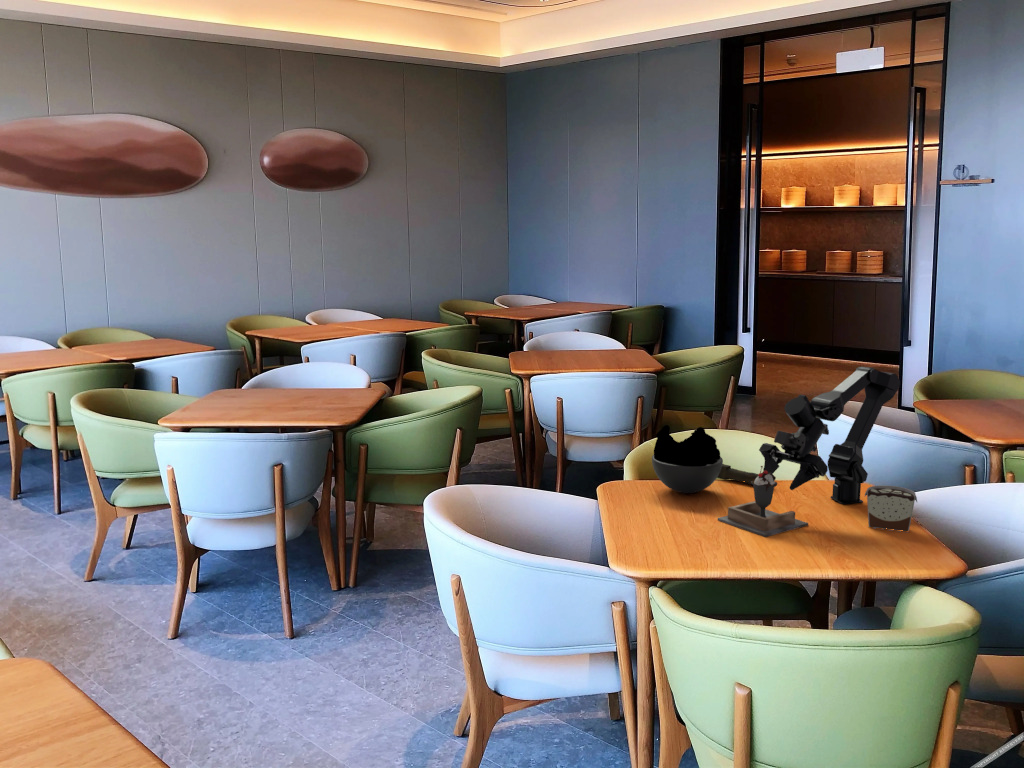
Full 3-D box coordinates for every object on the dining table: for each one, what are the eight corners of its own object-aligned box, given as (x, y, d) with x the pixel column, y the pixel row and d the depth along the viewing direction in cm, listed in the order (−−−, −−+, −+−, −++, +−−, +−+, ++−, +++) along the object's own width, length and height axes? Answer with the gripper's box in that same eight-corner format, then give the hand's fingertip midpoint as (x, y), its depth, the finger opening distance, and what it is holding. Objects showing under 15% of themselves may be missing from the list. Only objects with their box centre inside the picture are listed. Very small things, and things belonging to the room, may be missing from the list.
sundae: (751, 524, 238) (754, 467, 235) (747, 516, 244) (749, 460, 242) (778, 524, 237) (780, 467, 235) (772, 516, 244) (775, 460, 241)
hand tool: (770, 487, 274) (771, 472, 273) (762, 490, 271) (763, 474, 270) (716, 475, 288) (717, 460, 287) (709, 477, 285) (709, 462, 284)
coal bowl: (736, 495, 266) (739, 430, 262) (682, 506, 255) (684, 439, 252) (689, 478, 282) (691, 417, 279) (637, 488, 272) (638, 425, 269)
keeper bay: (759, 509, 252) (760, 496, 251) (808, 525, 239) (808, 511, 238) (717, 520, 243) (718, 506, 243) (765, 537, 230) (765, 523, 229)
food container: (915, 526, 238) (918, 488, 236) (915, 533, 232) (917, 494, 231) (864, 519, 243) (866, 482, 241) (862, 526, 237) (864, 488, 236)
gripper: (764, 413, 250) (734, 459, 246) (822, 425, 234) (791, 475, 230) (783, 437, 255) (754, 483, 251) (841, 451, 240) (811, 500, 236)
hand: (776, 485), depth 242 cm, fingers open, 9 cm apart
